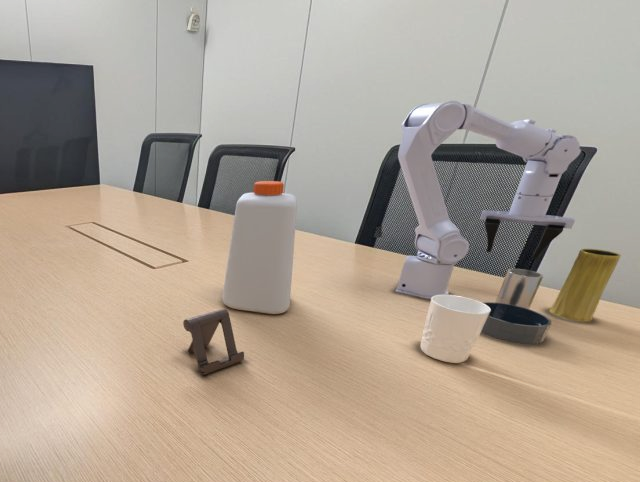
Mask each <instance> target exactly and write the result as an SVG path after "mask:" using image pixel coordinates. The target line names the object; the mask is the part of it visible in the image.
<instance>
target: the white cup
mask: <svg viewBox="0 0 640 482" xmlns="http://www.w3.org/2000/svg"><path fill="white" fill-rule="evenodd" d="M490 311H491V309H490V307H489V306H487V305H486V304H484V303H483V302H481V301H479V300H476V299H474V298H470V297H467V296H462V295H455V294H448V295H435V296H433V297H432V298H431V299H430V302H429V305H428V310H427V314H426V317H425V321H424V326H423V331H422V337H421V341H420V344H419V345H420V349H421V352H422V353H424V354H425V355H426V356H429V357H430V358H432V359H435V360H438V361H442V362H445V363H452V364H461V363H463V362H465V361H466V360H468V359H469V357H470V355H471V352H472V350H473V348H474V347H475V346H476V343H477V340H478V339H479V337H480V335H481V334H482V333H481V331H482V329H483V327H484V324H485V322H486V320H487V318H488V316H489V314H490Z"/></svg>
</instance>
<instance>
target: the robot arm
mask: <svg viewBox="0 0 640 482" xmlns="http://www.w3.org/2000/svg"><path fill="white" fill-rule="evenodd" d="M400 126H401V131H402V134H401V139H400V144H399V147H398V152H397V158H398V162H399V166H400V168H401V170H402V174H403V177H404V182H405V184H406V187H407V191H408V193H409V196H410V200H411V203H412V206H413V209H414V212H415V216H416V218H417V221H418V226H417V227H415V228H414V233H415V239H414V247H415V249H416V250H417V253H416V255H407V256H406V258H405V259H404V262H403V265H402V268H401V272H400V276H399V279H398V283H397V286H396V289H395V292H396V293H401V294H405V295H409V296H414V297H418V298H423V299H427V300H431V298H432V297H433V296H435V295H450V291H448V290H447V289H448V286H449V283H450V280H451V278H452V274H453V272H454V269H455V265H457V264H458V262H459V261H462V260H463V259H464V258H465V257H466V256H467V254H468V252H469V250H470V244H469V241H468V240H467V239H466V238H465V237H463V236H462V234H461V232H460V229H459V228H458V227H457V226H456V225H455V224H454V223H453V222H452V221H451V219H450V216H449V213H448V209H447V206H446V203H445V199H444V196H443V192H442V189H441V186H440V182H439V177H438V176H437V172H436V168H435V165H434V161H433V158H432V155H433V153H435V151H436V149H437V148H438V147H439V146H440V145H441V144H443V143H444V142H445V141H446V140H447V139H448V138H450V137H451V136H452V135H453V134H454V133H455V132H456V131H458V130H466V131H469V132H472V133H474V134H478V135H481V136H484V137H487V138H489V139H494V140H495V146H496V147H497V148H498V149H500V150H503V151H505V152H507V153H510V154H513V155H516V156H519V157H520V158H522V159H523V161H524V162H525V163H526V165H525V167H524V170H523V173H522V176H521V178H520V181H519V184H518V186H517V188H516V192H515V195H514V197H513V199H512V202H511V205H510V209H509V211H502V210H485V209H484V210H482V211H481V214H480V217H479V220H481V221H485V222H484V228H485V232H486V237H487V238H486V239H487V248H486V253H491V252H492V250H493V247H494V244H495V239H496V235H497V232H498V230H499V227H500V225H501V223H502V222H507V223H517V224H525V225H536V226H545V228H544V230H543V233H542V235H541V238H540V240H539V243H538V244H537V246H536V248H535V250H534V252H533V254H532V259H534V260H537V259H539V258H538V257H539V256H540V254H541V253H542V252H543V251H544V250H545V248H546V247H547V246H548V245H549V244H551V242H553V240H554V239H556V238H557V237H558V236H559V235H561V234H562V233H563V231H564V229H570V230H571V229H572V228H573V226H574V224H575V221H576V217H565V216H558V215H549V214H547V212H548V210H549V208H550V205H551V202H552V199H553V197H554V196H555V192H556V191H557V190H556V189H557V188H558V185H559V182H560V180H561V177H562V175H563V174H564V173H565V171H567V170H568V167H569V165H570V164H571V163H572V162H573V161H575V160H576V159H578V157H579V155H580V154H581V153H582V149H581V147H580V146H581V145H580V141H579V140H578V138H577V137H576V136H574V135H571V134H570V135H569V134H557V133H556V132H557V129H554V128H544V127H541V126H538V125H536V120H534V119H524V120H516V121H513V122H510V123H509V122H508V121H506V120H503V119H500V118H499V117H496V116H494V115H492V114H490V113H487V112H485V111H483V110H481V109H479V108H476V107H475V106H473V105H471V104H467V103H461V102H460V101H457V100H448V101H444V102H436V103H422V104H419V105H417V106H415V107H414V108H412V109H411V110H410V111H409V113H408V114H407V115H406V117H405V119H404V120H403V121H402V122H401V124H400Z"/></svg>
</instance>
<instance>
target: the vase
mask: <svg viewBox="0 0 640 482" xmlns="http://www.w3.org/2000/svg"><path fill="white" fill-rule="evenodd" d="M621 256H622V254H620V253H618V252H614V251H610V250H605V249H598V248H581V249H580V250H579V251H578V255H577V256H576V258H575V261H574V262H573V265H572V267H571V269H570V272H569V273H568V275H567V277H566V279H565V282H564V283H563V285H562V286H561V289H560V290H559V293H558V294H557V297H556V298H555V300H554V302H553V304H552V306H551V307H550V308H549V312H550V314H552V315H555V316H557V317H560V318H563V319H567V320H571V321H577V322H591V321H592V320H593V318H594V315H595V312H596V311H597V308H598V305H599V303H600V300H601V298H602V296H603V293H604V291H605V289H606V287H607V285H608V283H609V281H610V279H611V277H612V275H613V273H614V270H615V269H616V267H617V265H618V264H619V261H620V258H621Z"/></svg>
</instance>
